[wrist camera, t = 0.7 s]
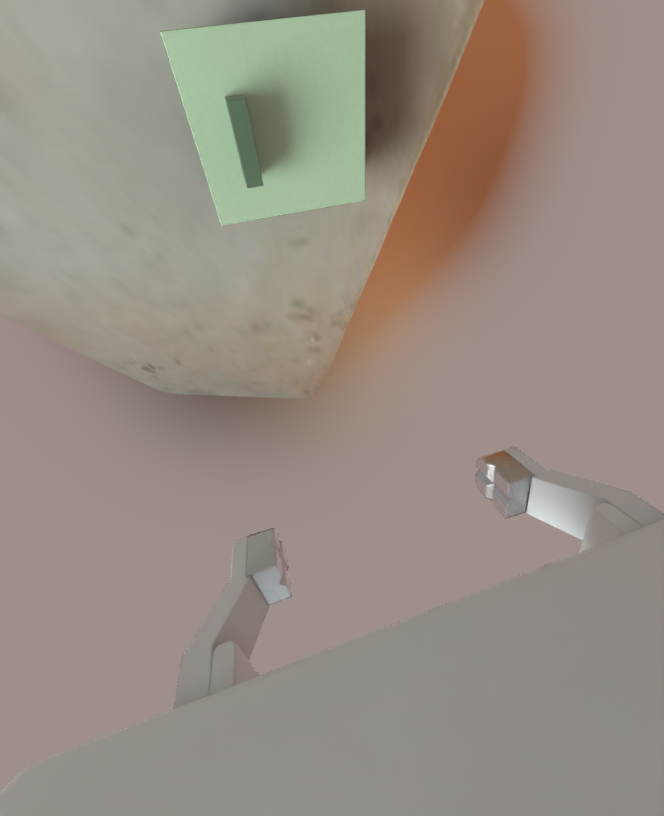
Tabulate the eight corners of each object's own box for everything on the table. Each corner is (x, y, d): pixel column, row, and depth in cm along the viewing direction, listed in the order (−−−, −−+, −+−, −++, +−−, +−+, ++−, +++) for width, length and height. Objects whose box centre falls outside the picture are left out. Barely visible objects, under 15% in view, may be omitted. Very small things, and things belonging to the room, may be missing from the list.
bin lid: (221, 223, 36) (222, 240, 32) (160, 31, 25) (153, 26, 22) (363, 198, 37) (378, 211, 34) (362, 10, 27) (385, 2, 23)
